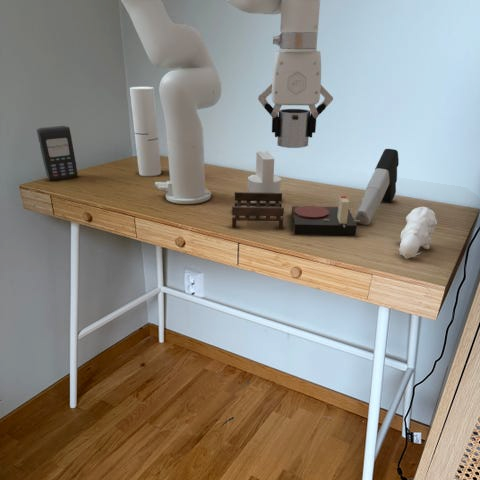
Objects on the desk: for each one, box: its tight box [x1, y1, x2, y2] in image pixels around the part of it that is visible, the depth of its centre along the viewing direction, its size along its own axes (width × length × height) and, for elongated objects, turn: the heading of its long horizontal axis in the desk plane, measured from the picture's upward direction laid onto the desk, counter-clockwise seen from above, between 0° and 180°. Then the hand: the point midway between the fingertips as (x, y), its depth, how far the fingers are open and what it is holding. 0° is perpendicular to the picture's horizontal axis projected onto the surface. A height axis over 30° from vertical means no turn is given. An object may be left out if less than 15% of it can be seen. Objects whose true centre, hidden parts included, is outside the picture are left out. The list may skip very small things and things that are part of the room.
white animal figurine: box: [397, 206, 438, 260], centre depth 96 cm, size 6×8×12 cm
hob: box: [290, 205, 360, 237], centre depth 110 cm, size 15×14×3 cm
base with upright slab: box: [247, 150, 282, 203], centre depth 124 cm, size 9×9×12 cm
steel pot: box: [276, 108, 311, 149], centre depth 102 cm, size 7×9×7 cm
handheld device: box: [355, 148, 400, 226], centre depth 118 cm, size 4×22×15 cm
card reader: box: [36, 125, 78, 181], centre depth 141 cm, size 9×4×15 cm, turn 123°
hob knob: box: [337, 195, 350, 224], centre depth 106 cm, size 4×2×5 cm, turn 177°
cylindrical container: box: [129, 86, 162, 177], centre depth 144 cm, size 7×7×25 cm
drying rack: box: [231, 191, 285, 230], centre depth 113 cm, size 12×12×5 cm
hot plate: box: [294, 205, 329, 218], centre depth 112 cm, size 8×8×1 cm
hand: (293, 135), depth 103 cm, fingers closed on steel pot, 6 cm apart
